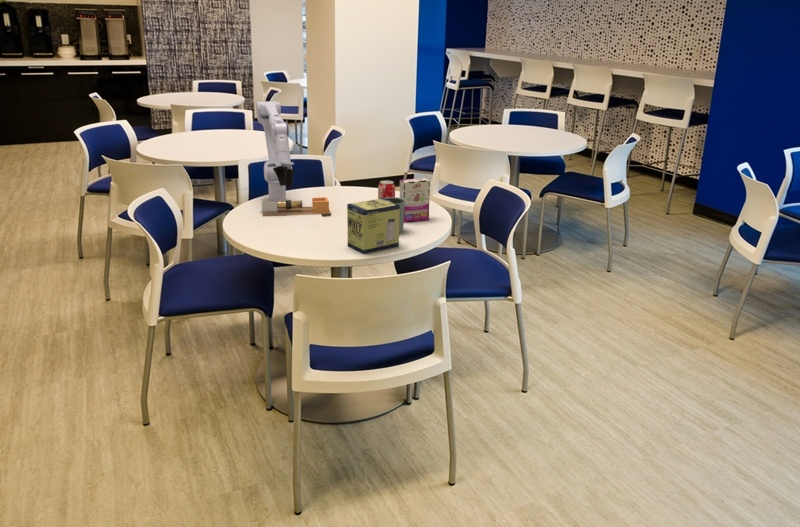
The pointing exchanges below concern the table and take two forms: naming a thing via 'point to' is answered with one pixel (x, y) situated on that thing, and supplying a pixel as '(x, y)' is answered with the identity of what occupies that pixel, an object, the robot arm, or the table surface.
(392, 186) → the soda can
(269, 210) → the outer sleeve
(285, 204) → the inner tube
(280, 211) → the base board
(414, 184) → the candy bar box
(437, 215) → the table surface
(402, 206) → the grey cup
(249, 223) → the table surface
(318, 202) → the socket block
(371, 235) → the protein box
